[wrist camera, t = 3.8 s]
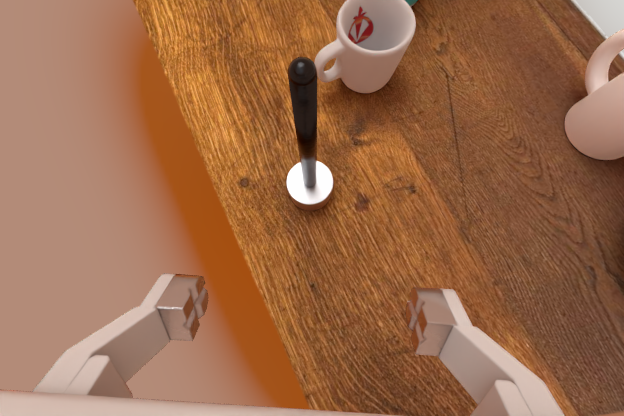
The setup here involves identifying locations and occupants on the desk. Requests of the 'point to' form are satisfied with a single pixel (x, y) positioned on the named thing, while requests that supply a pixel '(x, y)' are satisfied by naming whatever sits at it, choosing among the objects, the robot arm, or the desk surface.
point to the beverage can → (411, 2)
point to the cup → (367, 43)
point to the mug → (600, 106)
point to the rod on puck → (307, 140)
